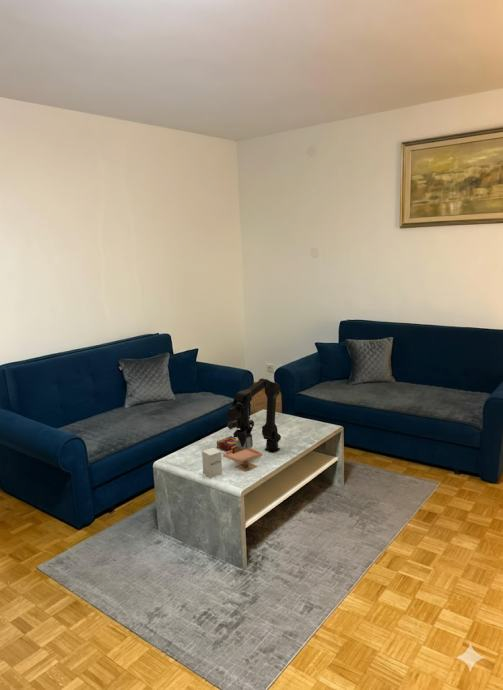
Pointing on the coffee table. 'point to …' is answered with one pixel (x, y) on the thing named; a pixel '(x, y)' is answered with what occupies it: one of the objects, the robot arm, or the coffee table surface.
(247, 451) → the tray
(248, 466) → the square plate with peg
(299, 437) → the coffee table surface
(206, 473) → the supplement box
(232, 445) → the decorative book
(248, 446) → the grey tankard
